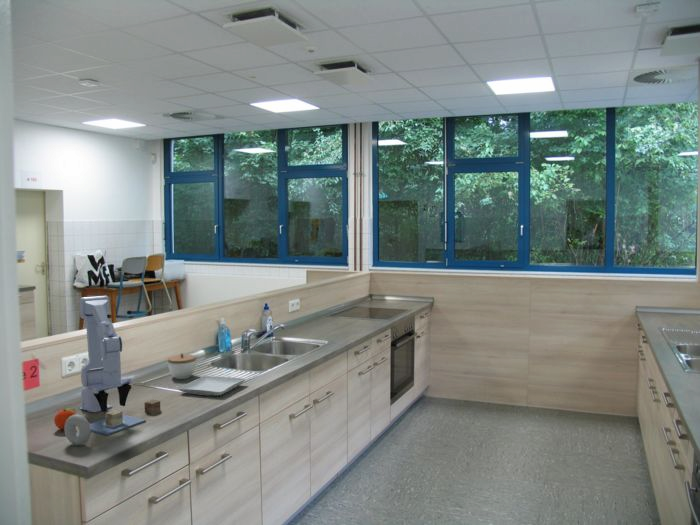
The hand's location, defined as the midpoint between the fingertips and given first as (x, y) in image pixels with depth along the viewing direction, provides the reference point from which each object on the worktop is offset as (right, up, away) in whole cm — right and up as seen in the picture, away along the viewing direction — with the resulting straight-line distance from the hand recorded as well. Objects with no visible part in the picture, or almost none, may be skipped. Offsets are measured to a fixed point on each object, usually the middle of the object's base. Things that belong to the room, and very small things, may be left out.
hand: (113, 408), depth 205 cm
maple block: (0, -5, 0) cm, 5 cm away
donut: (-4, -7, -18) cm, 20 cm away
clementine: (-15, -7, -3) cm, 17 cm away
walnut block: (+9, -5, +15) cm, 18 cm away
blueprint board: (0, -6, 0) cm, 6 cm away
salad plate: (+25, -4, +44) cm, 50 cm away
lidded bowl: (+5, -2, +66) cm, 66 cm away
